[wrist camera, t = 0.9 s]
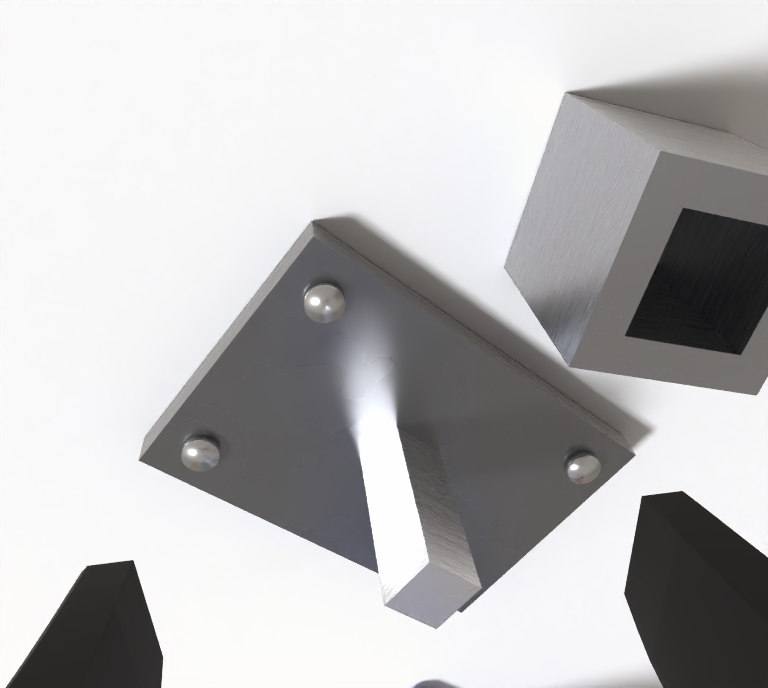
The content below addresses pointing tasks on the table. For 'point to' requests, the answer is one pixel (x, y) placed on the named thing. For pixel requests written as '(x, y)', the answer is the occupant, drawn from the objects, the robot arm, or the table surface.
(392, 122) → the table surface
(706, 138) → the tube
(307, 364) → the plate
